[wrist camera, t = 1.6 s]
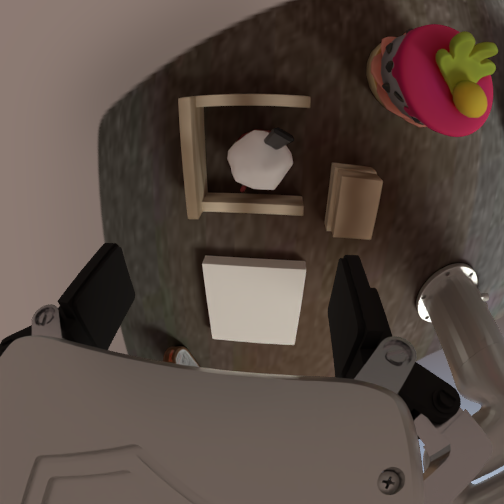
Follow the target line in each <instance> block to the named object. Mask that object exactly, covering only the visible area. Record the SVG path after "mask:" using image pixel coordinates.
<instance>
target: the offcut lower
mask: <svg viewBox="0 0 504 504" xmlns="http://www.w3.org/2000/svg"><path fill="white" fill-rule="evenodd" d="M338 169H339V170H348V171H357V172H365V173H373V174H377V172H376V171H375V170H374V169H373V168H372V167H367V166H359V165H351V164H342V163H332V165H331V175H330V183H329V192H328V200H327V208H326V215H325V222H324V223H325V227H326V231H331V227H330V225H331V218H332V211H333V204H334V197H335V189H336V181H337V172H338Z"/></svg>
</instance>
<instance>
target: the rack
mask: <svg viewBox="0 0 504 504" xmlns="http://www.w3.org/2000/svg"><path fill="white" fill-rule="evenodd" d="M310 100H311V97H310V96H301V95H284V94H217V95H200V96H190V97H183V98H178V105H179V123H180V138H181V152H182V164H183V175H184V186H185V196H186V205H187V214H188V219H199V217H200V215H201V214H202V212H203V211H204V212H235V213H259V214H279V215H297V216H303V209H304V205H303V198H302V196H290V195H271V194H246V193H208V185H207V168H206V150H205V129H204V107H208V106H286V107H303V108H310Z"/></svg>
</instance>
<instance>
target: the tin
mask: <svg viewBox="0 0 504 504" xmlns="http://www.w3.org/2000/svg"><path fill="white" fill-rule="evenodd" d="M163 362H168V363H175V364H181V365H188V366H195V367H200V366H199V364H198V363H197V362H196V360H195V359H194V357H193V356H192V355H191V353H190V352H189V350H188V349H187V348H186V347H183V346H177V347H173V346H172V347H169V348H168V349H167V350H166V352H165V354H164V359H163Z"/></svg>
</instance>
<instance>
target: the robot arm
mask: <svg viewBox="0 0 504 504" xmlns="http://www.w3.org/2000/svg"><path fill="white" fill-rule="evenodd" d="M477 282H478V279H477V275H476V273H475V271H474V270H473V269H472V268H471V267H470V266H469V265H467V264H464V263H456V264H451V265H448V266H446V267H444V268H442V269H440V270H439V271H437V272H436V273H434V274H433V275H432V276H431V277H430V278H429V279H428V280H427V281H426V282H425V284H424V285H423V286H422V288H421V290H420V292H419V294H418V296H417V300H416V308H417V311H418V314H419V315H420V317H421V318H422V319H423V320H425V321H427V322H432V324H433V326H434V329H435V331H436V333H437V336H438V338H439V341H440V343H441V346H442V348H443V351H444V354H445V356H446V359H447V361H448V364H449V367H450V370H451V373H452V376H453V379H454V381H455V385H456V387H457V390H458V391H459V393H460V394H461V395H462V396H463V397H464V398H466V399H468V400H470V401H473V402H476V403H479V404H481V409H480V410H479V411H478V412H476V413H475V414H473V415H472V416H471V415H470V414H469V412H468V411H467V410H466V409H465V410H464V411H463V410H462V409H461V408H460V397H459V394H458V392H457V391H456V389H455V388H453V387H452V386H451V385H449V384H448V383H446V382H445V381H443V380H442V379H440V378H439V377H437V376H436V375H434V374H433V373H431V372H430V371H428V370H427V369H425V368H424V367H422V366H421V365H419V364H418V363H416V362H415V361H416V358H417V357H416V351H415V349H414V347H413V346H412V344H411V343H410V342H408V341H407V340H406V339H403V338H401V337H396V336H393V337H392V334H391V330H390V327H389V324H388V321H387V318H386V315H385V312H384V309H383V306H382V303H381V300H380V297H379V294H378V292H377V290H376V289H375V288H370V286H369V283H368V280H367V277H366V274H365V271H364V269H363V266H362V263H361V260H360V258H359V256H357V255H345V256H344V258H340V259H339V262H338V267H337V271H336V276H335V281H334V285H333V289H332V294H331V298H330V302H329V306H328V318H329V326H330V333H331V341H332V349H333V358H334V367H335V377H320V376H295V375H277V374H261V373H248V372H237V371H227V370H218V369H210V368H202V367H195V366H188V365H181V364H175V363H168V362H163V361H157V360H151V359H146V358H141V357H136V356H131V355H126V354H122V353H117V352H113V351H109V350H108V348H109V346H110V344H111V342H112V340H113V338H114V336H115V334H116V333H117V330H118V329H119V327H120V325H121V323H122V321H123V319H124V317H125V316H126V314H127V312H128V310H129V308H130V306H131V305H132V303H133V301H134V298H135V292H134V289H133V285H132V282H131V279H130V276H129V273H128V269H127V266H126V263H125V259H124V256H123V252H122V249H121V247H119V246H118V244H116V243H105V244H103V246H102V247H101V248H100V249H99V250H98V251H97V252H96V254H95V255H94V256H93V257H92V258H91V260H90V261H89V262H88V263H87V264H86V266H85V267H84V268H83V269H82V270H81V272H80V273H79V274H78V275H77V277H76V278H75V279H74V280H73V282H72V283H71V284H70V286H69V287H68V288H67V289H66V291H65V292H64V294H63V295H62V296H61V297H60V299H59V300H58V303H59V304H60V307H59V308H57V307H56V306H55V305H45V306H43V307H41V308H40V309H38V310H37V311H36V312H35V314H34V316H33V318H32V325H31V326H29V327H27V328H25V329H23V330H21V331H19V332H16V333H14V334H12V335H10V336H8V337H6V338H5V339H3V340H2V342H1V344H0V504H504V470H503V471H502V472H500V473H498V474H496V475H494V476H492V477H490V478H488V479H487V480H484V481H482V482H480V483H478V484H472V483H471V481H473V480H476V479H478V478H480V477H482V476H484V475H486V474H488V473H490V472H492V471H494V470H496V469H498V468H500V467H502V466H503V465H504V337H503V335H502V333H501V331H500V329H499V327H498V325H497V324H496V322H495V320H494V318H493V316H492V315H491V313H490V311H489V310H488V305H487V303H486V302H484V301H488V299H489V294H488V293H482V294H481V293H480V291H479V290H478V288H477ZM418 439H421V440H422V442H423V443H424V444H425V446H424V448H425V451H424V456H423V465H424V473H423V470H422V461H421V454H420V447H419V441H418ZM383 471H384V472H383ZM381 472H382V473H381Z"/></svg>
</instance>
